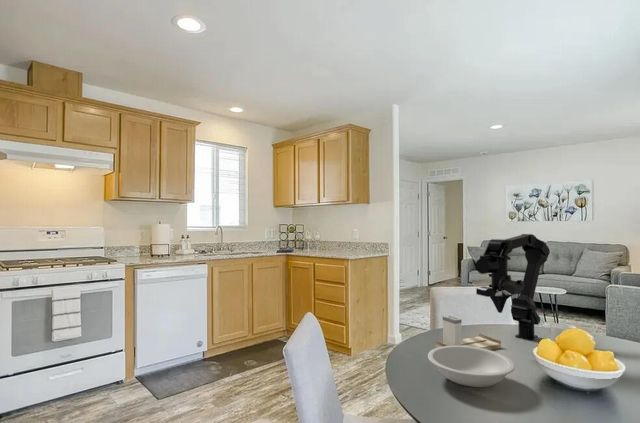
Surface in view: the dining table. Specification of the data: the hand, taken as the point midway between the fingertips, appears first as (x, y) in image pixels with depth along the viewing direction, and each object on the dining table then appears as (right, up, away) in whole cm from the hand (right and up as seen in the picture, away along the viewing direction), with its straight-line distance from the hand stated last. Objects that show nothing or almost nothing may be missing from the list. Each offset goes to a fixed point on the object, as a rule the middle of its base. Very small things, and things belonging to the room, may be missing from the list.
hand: (500, 312), depth 146 cm
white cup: (+17, -12, -12) cm, 24 cm away
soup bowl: (-25, -12, -34) cm, 43 cm away
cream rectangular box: (-21, -10, -8) cm, 25 cm away
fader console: (-14, -12, -4) cm, 19 cm away
